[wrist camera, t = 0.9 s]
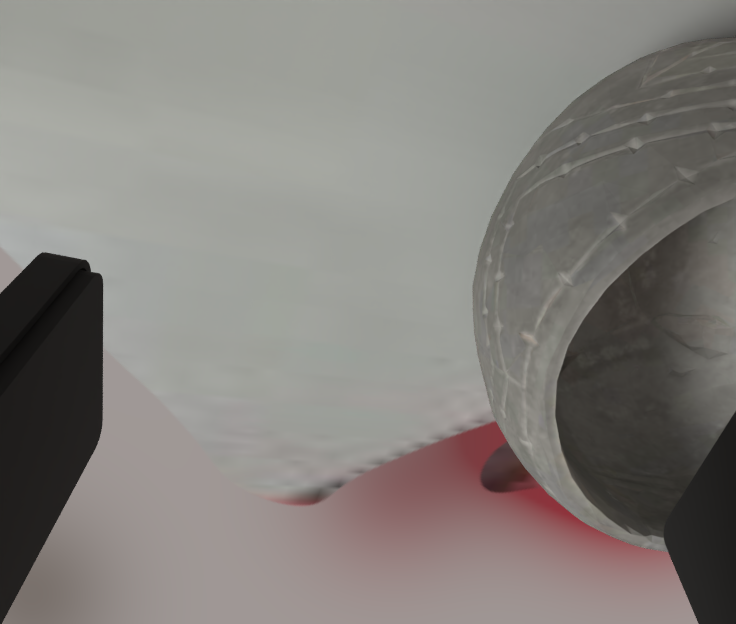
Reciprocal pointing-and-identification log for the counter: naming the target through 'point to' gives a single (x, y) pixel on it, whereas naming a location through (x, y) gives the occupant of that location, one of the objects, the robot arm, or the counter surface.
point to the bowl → (619, 291)
